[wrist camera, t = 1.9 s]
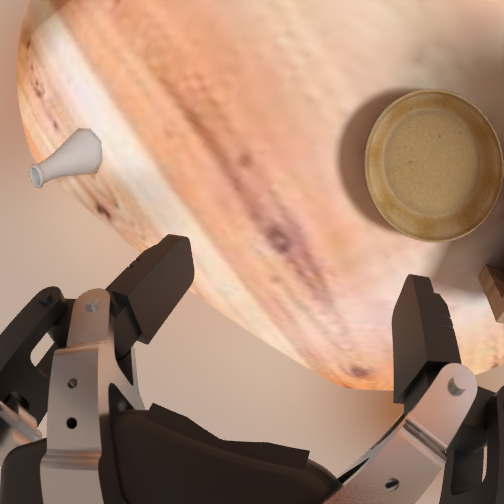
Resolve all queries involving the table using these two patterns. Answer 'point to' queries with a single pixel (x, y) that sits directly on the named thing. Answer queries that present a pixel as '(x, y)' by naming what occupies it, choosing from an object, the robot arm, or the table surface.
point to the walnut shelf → (494, 290)
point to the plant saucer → (433, 165)
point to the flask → (70, 158)
